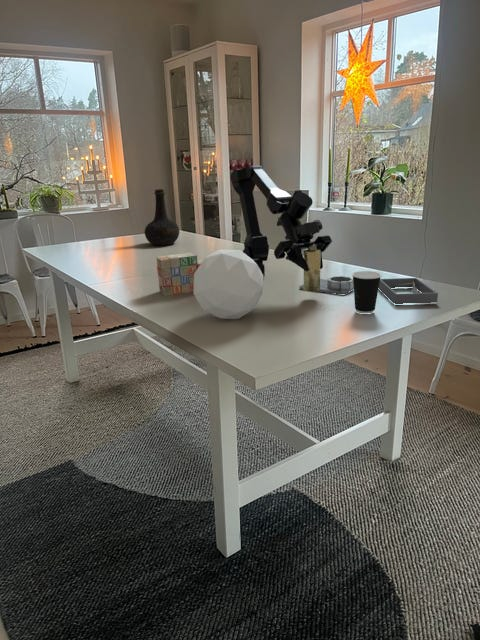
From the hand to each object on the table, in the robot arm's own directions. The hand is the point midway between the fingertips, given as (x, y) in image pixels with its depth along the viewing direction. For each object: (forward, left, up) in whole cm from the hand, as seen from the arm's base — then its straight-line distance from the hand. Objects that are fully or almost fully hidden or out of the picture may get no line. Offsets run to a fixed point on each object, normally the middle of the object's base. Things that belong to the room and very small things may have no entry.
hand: (314, 269), depth 146 cm
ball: (-26, -13, -10) cm, 31 cm away
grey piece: (+7, +13, -10) cm, 18 cm away
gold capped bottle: (-1, +1, -7) cm, 7 cm away
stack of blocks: (-40, +18, -10) cm, 44 cm away
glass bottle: (-64, +110, -10) cm, 127 cm away
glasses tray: (+28, +1, -10) cm, 30 cm away
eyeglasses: (+27, +1, -10) cm, 29 cm away
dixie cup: (+12, -13, -10) cm, 21 cm away
